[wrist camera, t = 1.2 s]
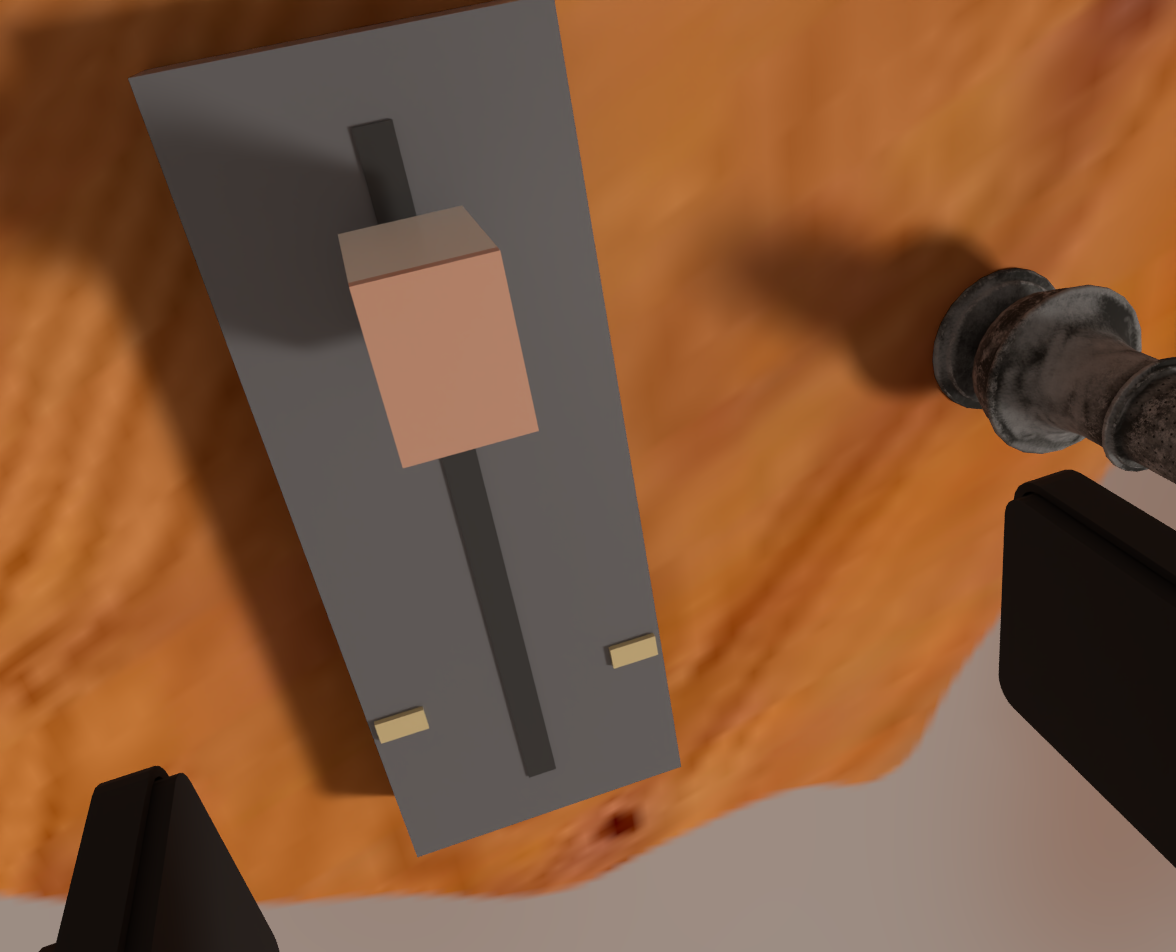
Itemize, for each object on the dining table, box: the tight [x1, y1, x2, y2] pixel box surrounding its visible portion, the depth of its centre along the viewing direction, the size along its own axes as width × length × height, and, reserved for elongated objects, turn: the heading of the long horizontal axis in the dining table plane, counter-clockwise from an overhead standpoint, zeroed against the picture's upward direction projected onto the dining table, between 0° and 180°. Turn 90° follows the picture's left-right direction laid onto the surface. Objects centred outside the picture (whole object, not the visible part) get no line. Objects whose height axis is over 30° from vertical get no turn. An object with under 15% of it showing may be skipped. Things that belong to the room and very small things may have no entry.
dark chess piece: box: [933, 268, 1176, 484], centre depth 30 cm, size 6×6×12 cm
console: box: [128, 0, 681, 857], centre depth 30 cm, size 26×10×3 cm, turn 10°
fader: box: [338, 205, 539, 468], centre depth 22 cm, size 4×3×6 cm
